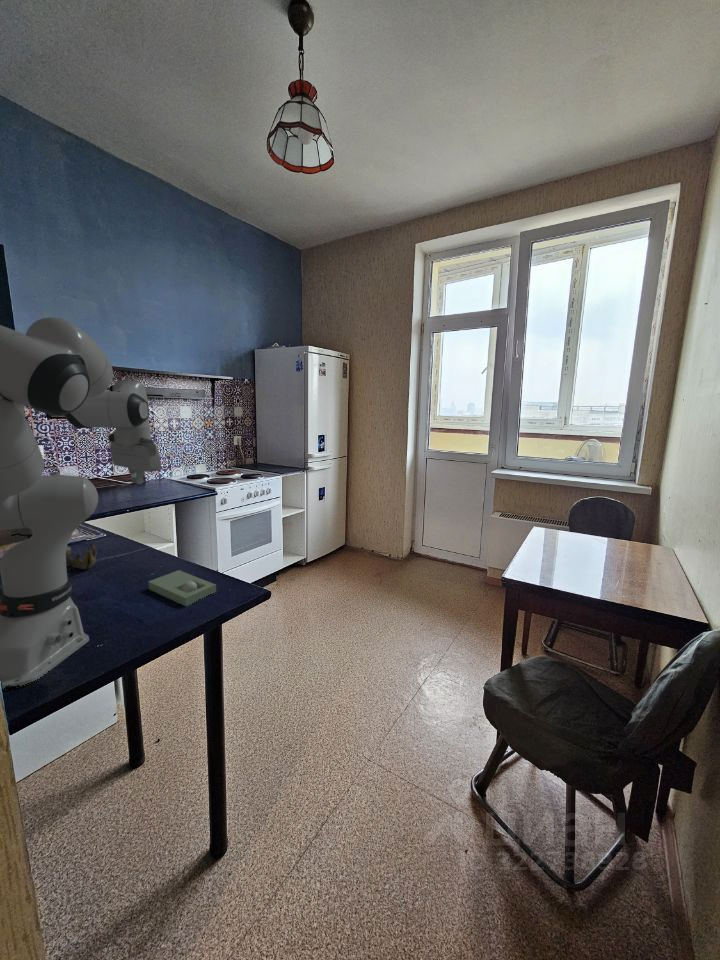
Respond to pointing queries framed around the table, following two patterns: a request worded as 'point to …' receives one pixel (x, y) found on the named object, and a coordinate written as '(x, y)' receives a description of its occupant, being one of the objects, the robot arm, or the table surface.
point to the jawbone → (79, 563)
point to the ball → (189, 586)
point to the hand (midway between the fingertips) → (137, 483)
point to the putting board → (174, 584)
